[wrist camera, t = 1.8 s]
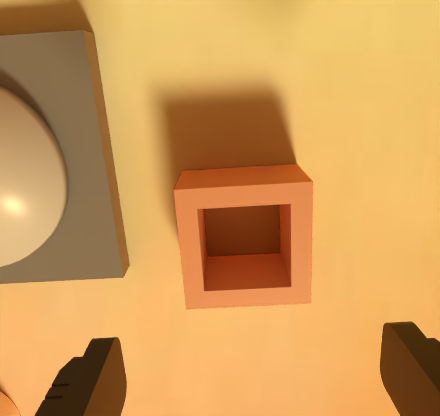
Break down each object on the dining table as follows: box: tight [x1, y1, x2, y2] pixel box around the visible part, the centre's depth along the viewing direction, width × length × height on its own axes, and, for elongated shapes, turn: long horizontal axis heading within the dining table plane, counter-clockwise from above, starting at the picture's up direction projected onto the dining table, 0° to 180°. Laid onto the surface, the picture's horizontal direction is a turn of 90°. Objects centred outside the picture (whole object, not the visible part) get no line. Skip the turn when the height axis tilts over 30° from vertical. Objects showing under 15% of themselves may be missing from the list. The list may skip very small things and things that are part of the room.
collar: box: [174, 164, 313, 309], centre depth 20 cm, size 6×6×4 cm
